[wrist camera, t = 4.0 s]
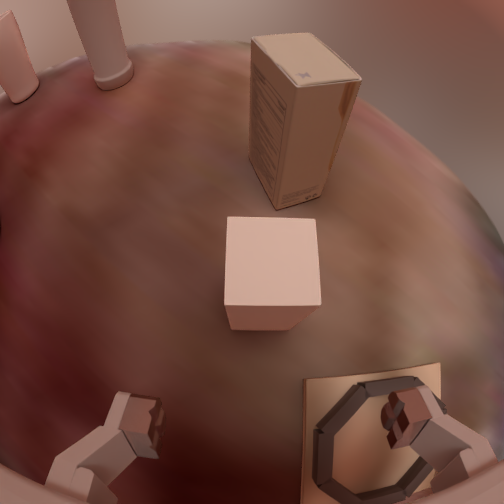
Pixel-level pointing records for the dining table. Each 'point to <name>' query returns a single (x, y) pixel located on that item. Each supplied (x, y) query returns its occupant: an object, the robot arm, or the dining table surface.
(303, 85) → the skincare box
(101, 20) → the bottle
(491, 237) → the dining table surface
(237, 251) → the carton
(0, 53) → the drinking glass
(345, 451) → the board
